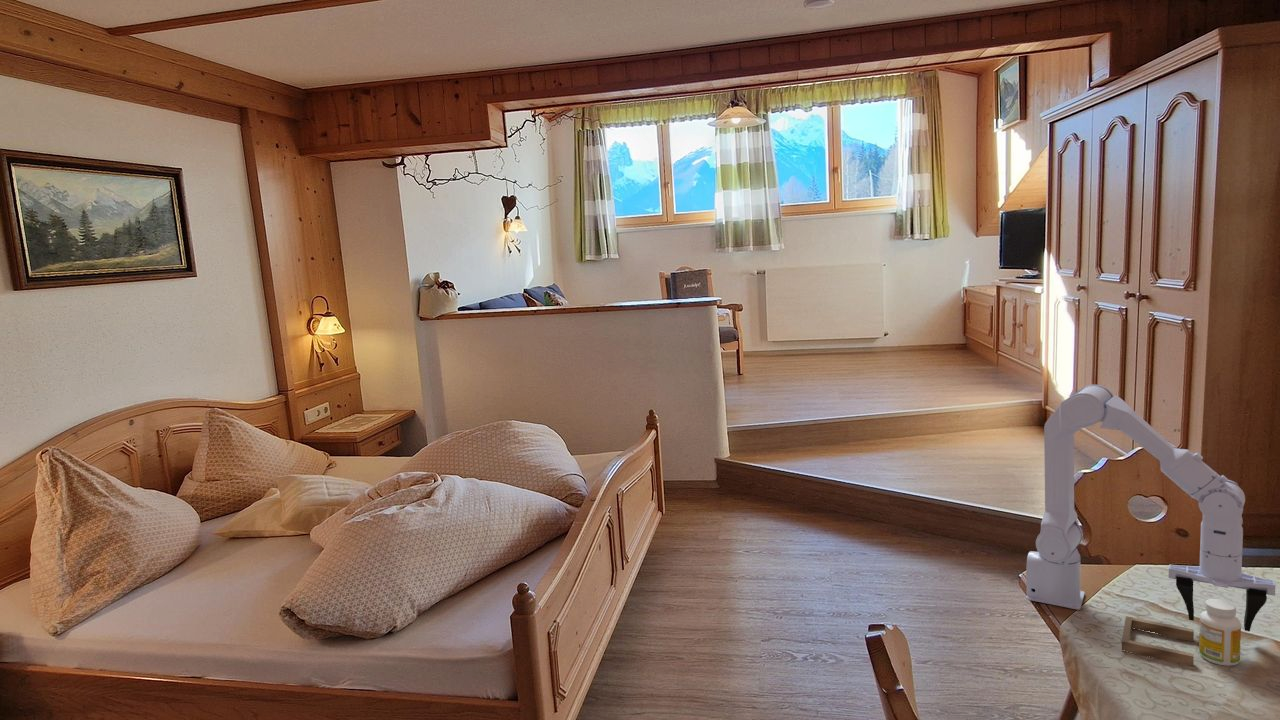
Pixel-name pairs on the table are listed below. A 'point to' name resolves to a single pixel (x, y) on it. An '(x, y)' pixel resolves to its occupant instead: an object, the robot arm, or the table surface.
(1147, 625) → the wooden frame
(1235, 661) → the supplement bottle
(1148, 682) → the table surface
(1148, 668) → the table surface
